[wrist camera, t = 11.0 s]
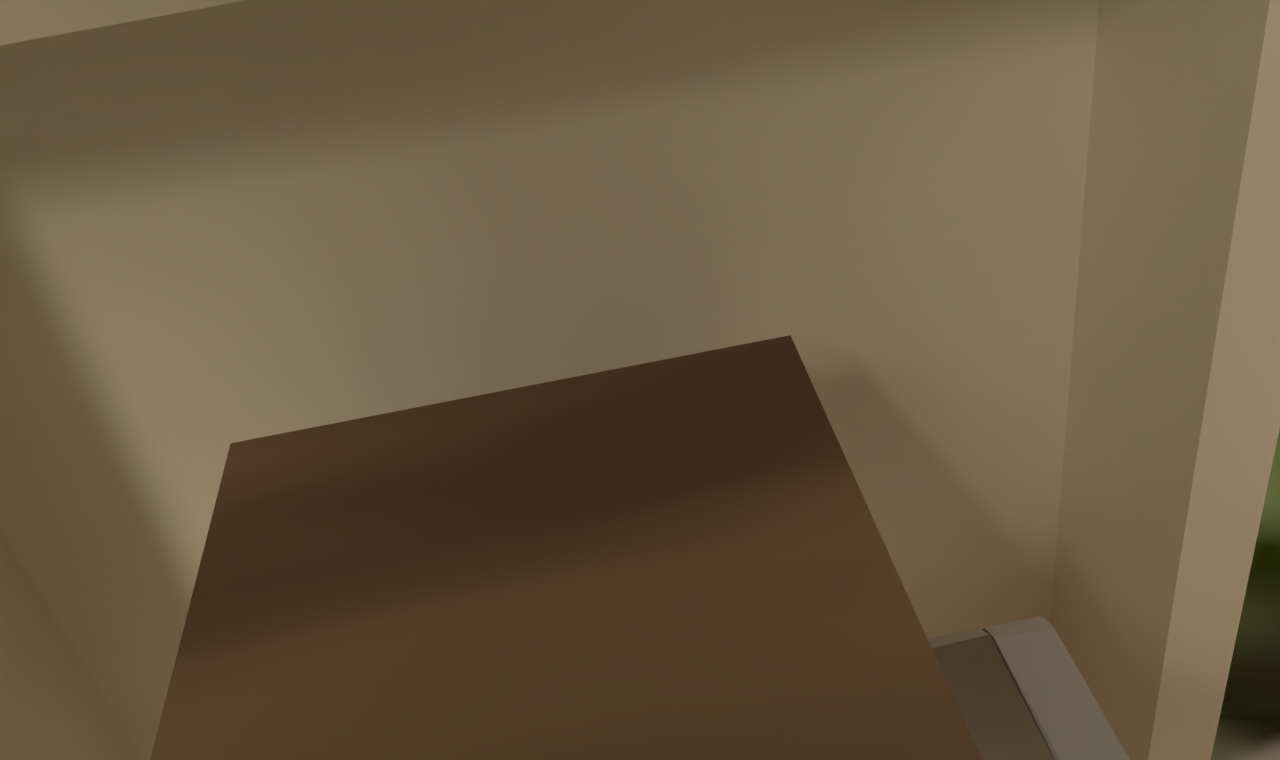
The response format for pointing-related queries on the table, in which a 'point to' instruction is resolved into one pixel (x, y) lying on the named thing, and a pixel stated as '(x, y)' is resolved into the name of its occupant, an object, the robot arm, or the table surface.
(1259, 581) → the table surface
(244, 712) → the walnut block
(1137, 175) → the cream bin
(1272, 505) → the table surface
